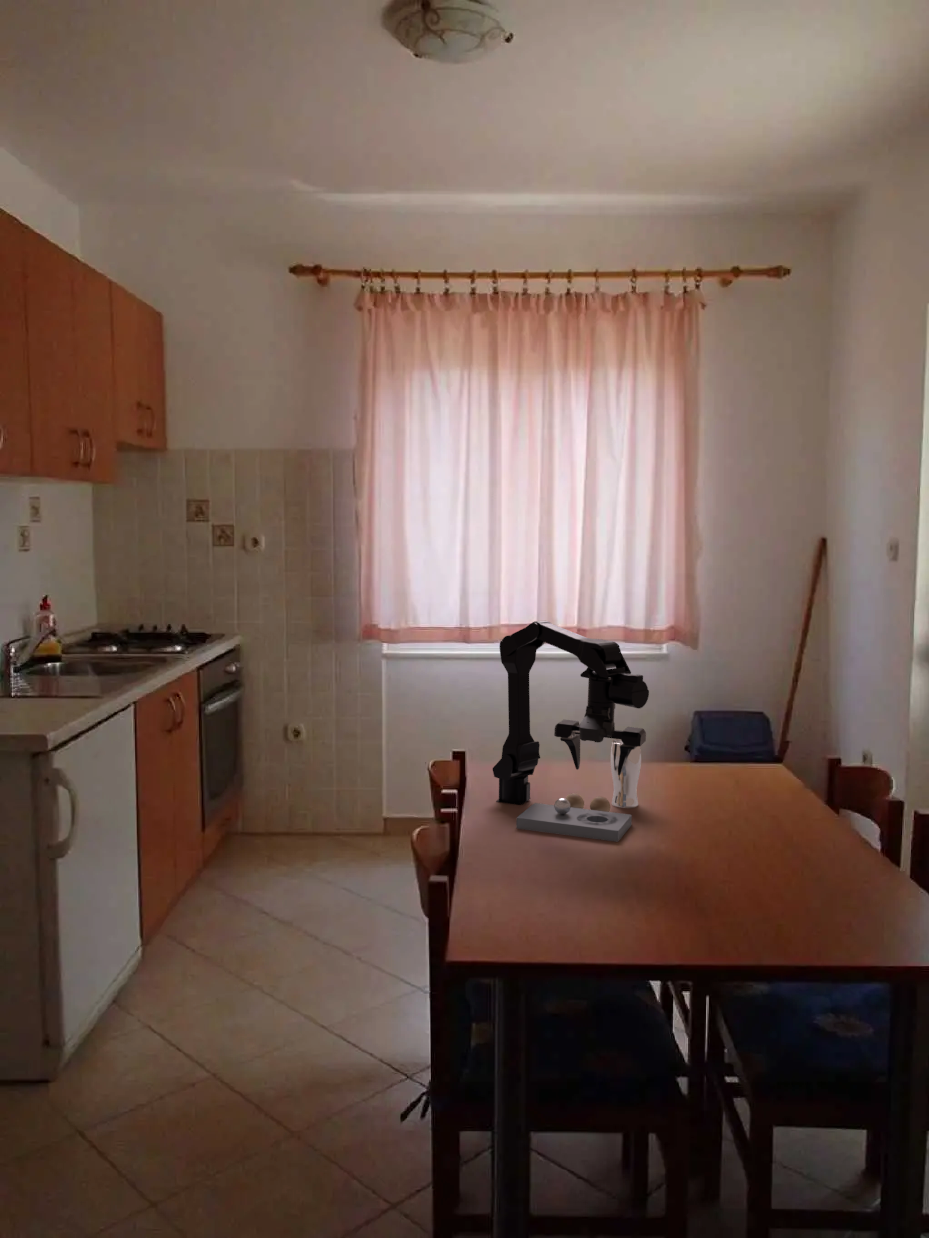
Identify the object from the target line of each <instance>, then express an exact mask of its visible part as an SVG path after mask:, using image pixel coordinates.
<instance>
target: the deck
mask: <svg viewBox="0 0 929 1238" xmlns="http://www.w3.org/2000/svg"><path fill="white" fill-rule="evenodd" d="M632 817H633V816H632V814H629V813H622V812H621V813H620V812H614V811H613V812H611V811H609V812H605V811H597V810H591V809H590V808H589V809H588V808H583V809H581V808H573V807H571V808H570V811H569V812H568V813H567V814H564V815H562V814H559V813H557V812H556V810H555V808H554V804H546V803H541V802H539V803H538V802H534V803H533V804H531V805H530V806H529V807H528V808H527V809H525V810H524V811H523V812H522V813H520V814H519V815H518V816H516V825H515V827H516V829H518V830H526V831H533V832H540V833H548V834H549V833H550V834H554V835H555V834H557V835H563V836H564V835H565V836H571V837H578V838H585V839H594V840H600V839H601V840H600V841H609V842H617V843H618V842H620V840H621V839H622V838H623V836H624V835H625V834H626V833H627V831H629V829H630V828H631V827H632V820H633V819H632Z"/></svg>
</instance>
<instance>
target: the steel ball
mask: <svg viewBox="0 0 929 1238" xmlns="http://www.w3.org/2000/svg"><path fill="white" fill-rule="evenodd" d="M565 798H566V797H565ZM565 798H564V797H560V798H557V799H556V801H555V802H554V804H553V805H554V808H555V810H556V812H557V813H559V814H562V815H564V814H567V813H568V812H569V811H570V808H571V805H570V802H569V801H568V800H567V799H565Z"/></svg>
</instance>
